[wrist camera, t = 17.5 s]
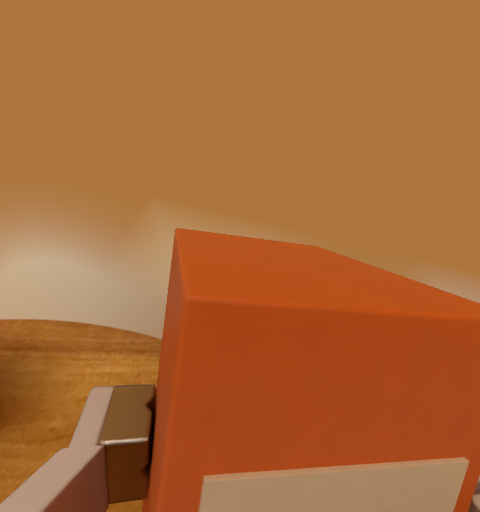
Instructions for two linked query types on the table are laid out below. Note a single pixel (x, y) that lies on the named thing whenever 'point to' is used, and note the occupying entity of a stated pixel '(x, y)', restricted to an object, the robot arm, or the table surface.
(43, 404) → the table surface
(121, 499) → the robot arm
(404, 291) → the orange box
